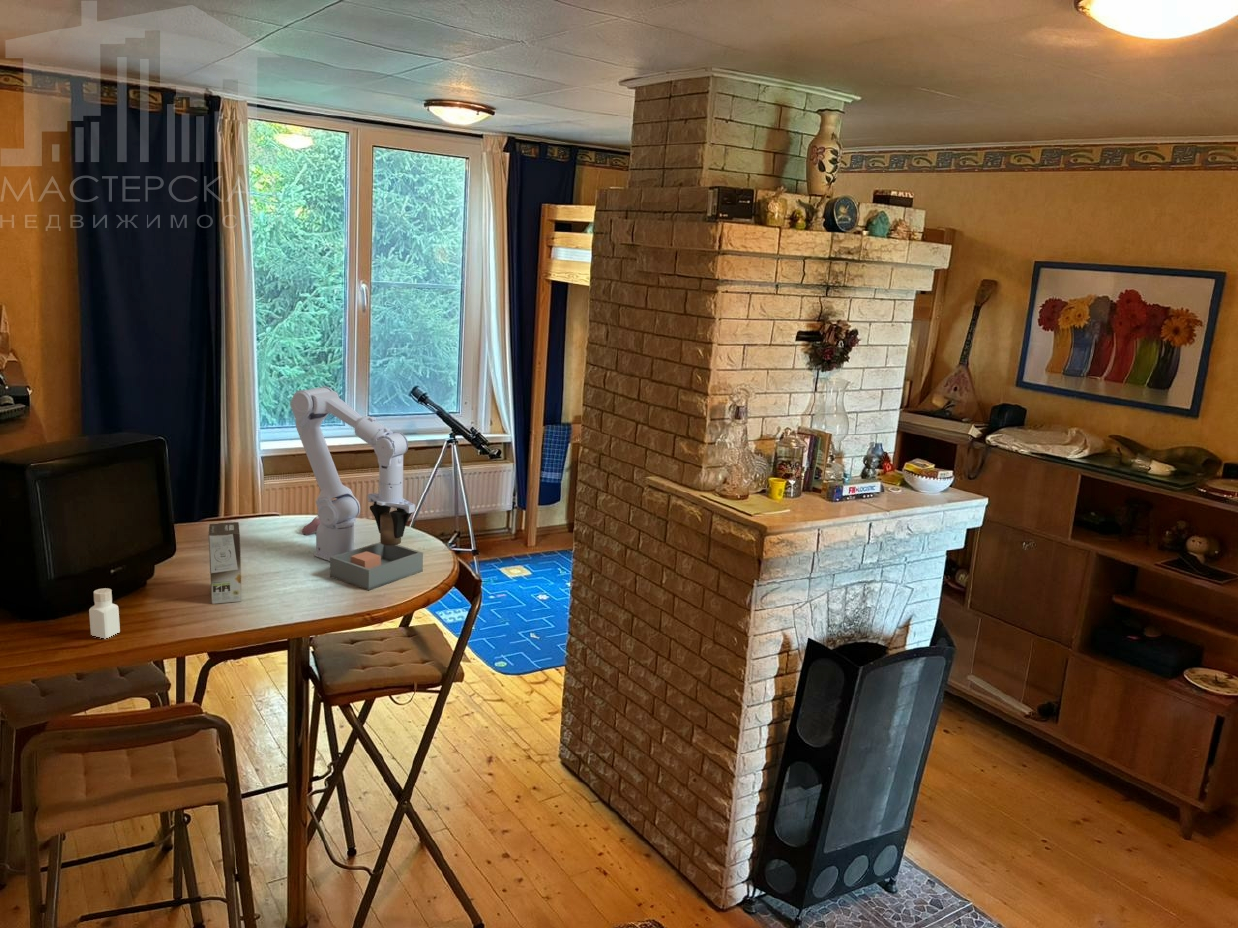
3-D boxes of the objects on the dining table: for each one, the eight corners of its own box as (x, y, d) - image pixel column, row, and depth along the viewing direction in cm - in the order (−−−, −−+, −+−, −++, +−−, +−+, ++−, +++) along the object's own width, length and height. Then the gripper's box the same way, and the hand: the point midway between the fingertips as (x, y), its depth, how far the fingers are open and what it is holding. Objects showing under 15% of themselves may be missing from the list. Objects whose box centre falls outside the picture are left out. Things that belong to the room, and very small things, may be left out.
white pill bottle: (105, 629, 190) (102, 586, 188) (121, 633, 189) (118, 589, 187) (89, 637, 187) (86, 592, 185) (105, 640, 186) (102, 596, 183)
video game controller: (313, 542, 256) (324, 521, 254) (299, 533, 256) (309, 512, 254) (330, 531, 265) (340, 511, 263) (317, 523, 265) (327, 503, 263)
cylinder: (376, 542, 232) (375, 515, 230) (391, 537, 236) (391, 511, 234) (389, 546, 229) (389, 519, 227) (405, 542, 233) (405, 515, 231)
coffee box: (242, 601, 209) (240, 533, 205) (211, 604, 206) (208, 535, 202) (241, 587, 217) (238, 521, 213) (211, 589, 214) (208, 523, 211)
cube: (350, 575, 227) (350, 556, 226) (366, 570, 231) (366, 551, 230) (364, 580, 224) (364, 560, 223) (380, 575, 228) (380, 555, 227)
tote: (330, 576, 227) (329, 557, 226) (384, 558, 241) (384, 540, 240) (368, 590, 220) (368, 570, 219) (422, 571, 234) (422, 552, 233)
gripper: (358, 479, 229) (358, 531, 233) (400, 490, 222) (399, 544, 225) (379, 474, 235) (379, 525, 238) (421, 485, 228) (420, 538, 231)
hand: (390, 534), depth 232 cm, fingers closed on cylinder, 5 cm apart
